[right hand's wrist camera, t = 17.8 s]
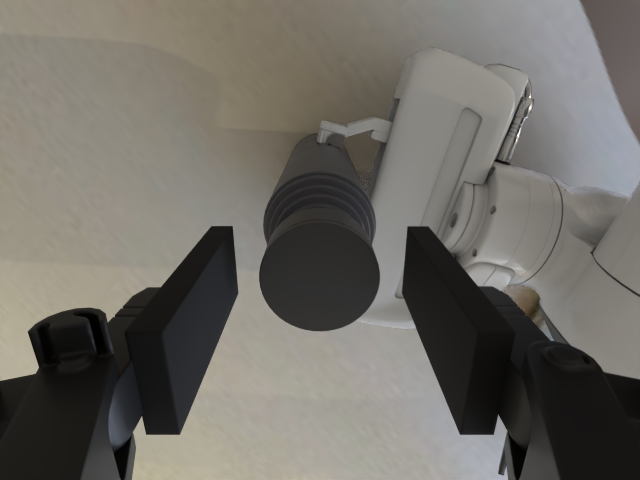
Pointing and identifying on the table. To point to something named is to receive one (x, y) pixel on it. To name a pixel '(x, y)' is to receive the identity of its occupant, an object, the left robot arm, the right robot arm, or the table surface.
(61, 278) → the table surface
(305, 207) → the bottle
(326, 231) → the cap
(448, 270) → the right robot arm
